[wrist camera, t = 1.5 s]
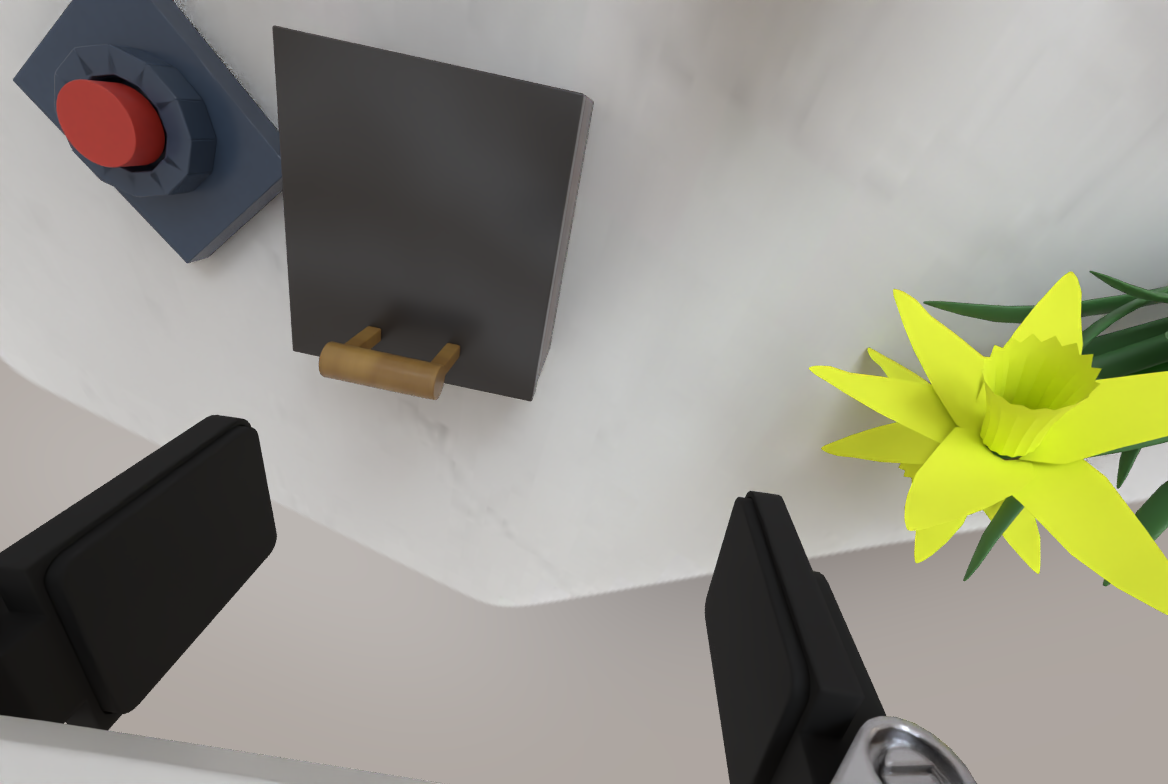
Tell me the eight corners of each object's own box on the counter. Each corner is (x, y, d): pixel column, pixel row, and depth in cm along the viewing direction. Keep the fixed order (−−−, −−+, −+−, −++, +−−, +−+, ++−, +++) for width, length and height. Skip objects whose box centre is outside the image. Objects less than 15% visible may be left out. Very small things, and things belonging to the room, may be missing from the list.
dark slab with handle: (535, 392, 28) (514, 447, 23) (305, 343, 28) (234, 388, 23) (586, 95, 22) (572, 85, 17) (289, 30, 22) (187, 0, 17)
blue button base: (44, 82, 28) (-29, 76, 25) (140, -40, 25) (71, -64, 22) (208, 257, 32) (161, 271, 29) (307, 167, 29) (268, 172, 26)
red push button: (76, 113, 26) (40, 113, 24) (117, 64, 25) (82, 60, 23) (138, 180, 27) (107, 183, 25) (180, 136, 26) (150, 136, 24)
